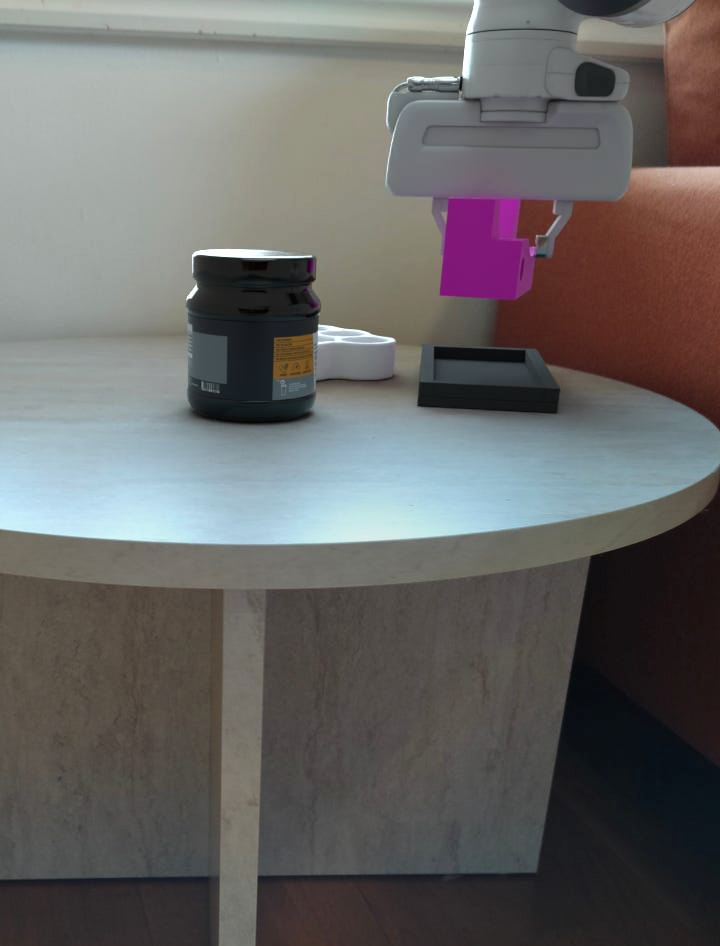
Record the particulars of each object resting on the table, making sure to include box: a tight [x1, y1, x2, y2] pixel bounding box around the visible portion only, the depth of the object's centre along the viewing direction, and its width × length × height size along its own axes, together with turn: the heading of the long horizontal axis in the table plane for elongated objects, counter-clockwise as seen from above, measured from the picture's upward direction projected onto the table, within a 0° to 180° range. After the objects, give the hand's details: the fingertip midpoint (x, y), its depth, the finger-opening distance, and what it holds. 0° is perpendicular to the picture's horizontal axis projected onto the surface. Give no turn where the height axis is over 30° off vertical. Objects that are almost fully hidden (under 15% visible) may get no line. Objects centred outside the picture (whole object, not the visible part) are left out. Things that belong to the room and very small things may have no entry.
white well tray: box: [316, 324, 397, 382], centre depth 101 cm, size 3×18×15 cm
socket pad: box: [416, 343, 561, 414], centre depth 94 cm, size 11×21×2 cm, turn 170°
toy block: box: [438, 198, 536, 301], centre depth 89 cm, size 15×6×8 cm, turn 158°
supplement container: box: [185, 248, 322, 423], centre depth 80 cm, size 10×10×12 cm
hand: (495, 256), depth 90 cm, fingers closed on toy block, 7 cm apart
